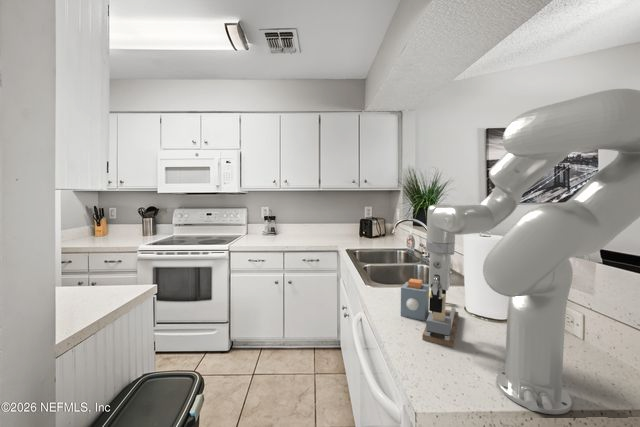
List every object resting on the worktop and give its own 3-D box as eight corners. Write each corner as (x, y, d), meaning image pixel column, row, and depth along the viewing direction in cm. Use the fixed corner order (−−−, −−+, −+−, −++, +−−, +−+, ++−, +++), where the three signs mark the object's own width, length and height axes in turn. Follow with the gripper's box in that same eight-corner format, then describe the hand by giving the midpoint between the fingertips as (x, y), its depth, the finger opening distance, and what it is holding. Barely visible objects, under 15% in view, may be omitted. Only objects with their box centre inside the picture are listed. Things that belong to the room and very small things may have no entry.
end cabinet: (424, 321, 94) (425, 291, 93) (400, 316, 98) (400, 288, 97) (428, 312, 101) (429, 284, 101) (405, 308, 105) (406, 281, 105)
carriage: (449, 335, 78) (449, 300, 78) (426, 330, 81) (426, 296, 81) (450, 326, 83) (451, 293, 83) (429, 322, 86) (430, 290, 86)
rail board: (452, 346, 78) (453, 337, 78) (422, 339, 82) (422, 330, 82) (458, 316, 98) (458, 308, 98) (433, 311, 102) (433, 304, 102)
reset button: (420, 291, 97) (420, 283, 96) (408, 289, 98) (408, 281, 98) (422, 288, 100) (422, 280, 100) (410, 286, 102) (410, 278, 102)
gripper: (451, 255, 72) (449, 320, 73) (456, 244, 87) (454, 298, 88) (421, 251, 75) (418, 313, 77) (430, 241, 90) (428, 293, 92)
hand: (437, 305), depth 82 cm, fingers open, 9 cm apart
